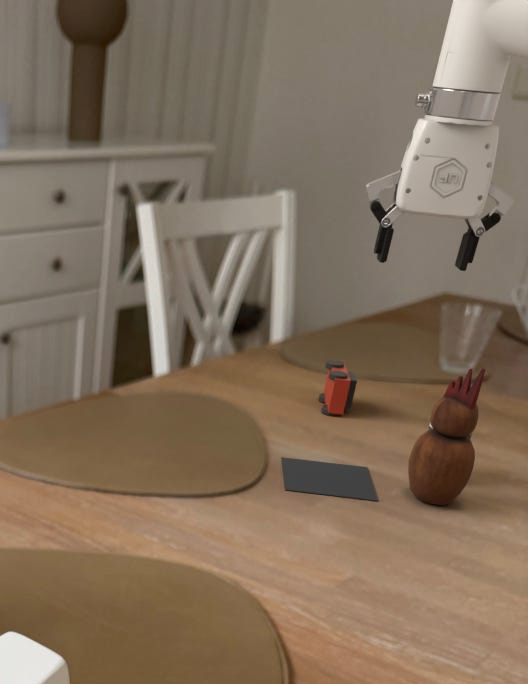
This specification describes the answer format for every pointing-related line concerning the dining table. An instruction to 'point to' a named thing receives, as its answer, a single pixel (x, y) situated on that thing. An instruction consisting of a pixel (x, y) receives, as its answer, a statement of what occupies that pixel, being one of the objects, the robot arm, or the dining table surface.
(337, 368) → the toy car
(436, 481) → the wooden figurine
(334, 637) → the dining table surface
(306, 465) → the mat
